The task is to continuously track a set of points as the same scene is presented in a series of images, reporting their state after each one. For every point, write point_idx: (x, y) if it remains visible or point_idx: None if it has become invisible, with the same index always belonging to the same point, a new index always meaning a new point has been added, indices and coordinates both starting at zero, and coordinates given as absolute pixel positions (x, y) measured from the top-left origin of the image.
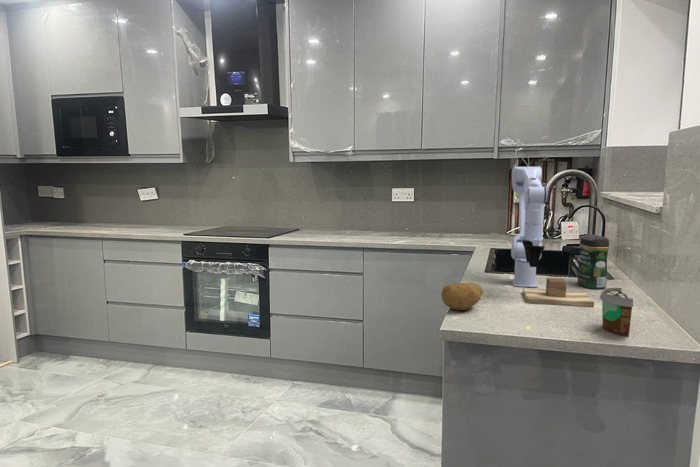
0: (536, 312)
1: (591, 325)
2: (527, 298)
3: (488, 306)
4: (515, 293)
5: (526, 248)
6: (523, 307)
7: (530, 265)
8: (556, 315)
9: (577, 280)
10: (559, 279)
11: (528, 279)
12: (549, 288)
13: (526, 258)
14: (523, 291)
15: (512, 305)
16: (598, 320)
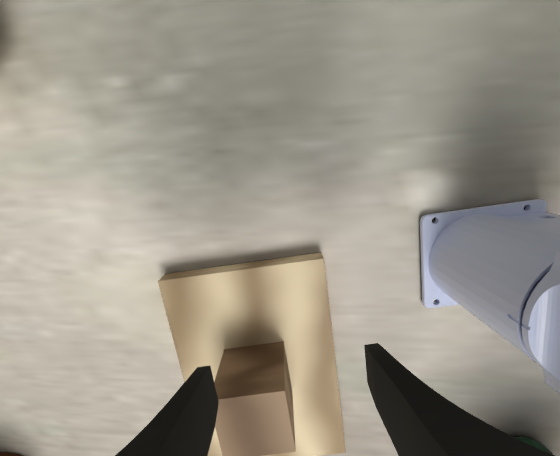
0: (59, 301)
1: (11, 431)
2: (171, 278)
3: (42, 134)
4: (299, 225)
5: (426, 445)
6: (99, 261)
7: (191, 375)
8: (58, 356)
9: (532, 445)
10: (262, 437)
11: (446, 284)
12: (217, 373)
13: (376, 360)
14: (298, 259)
15: (106, 223)
16: (71, 449)
